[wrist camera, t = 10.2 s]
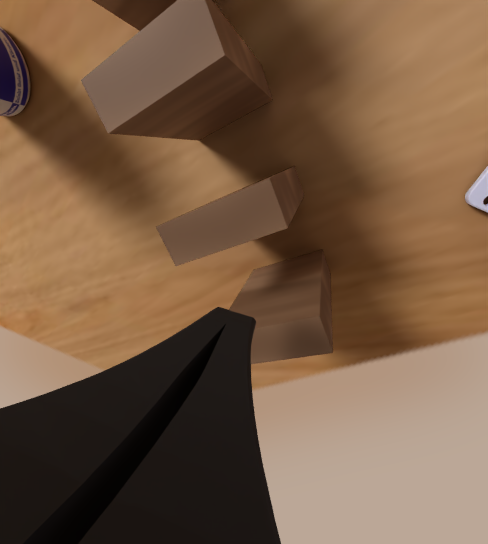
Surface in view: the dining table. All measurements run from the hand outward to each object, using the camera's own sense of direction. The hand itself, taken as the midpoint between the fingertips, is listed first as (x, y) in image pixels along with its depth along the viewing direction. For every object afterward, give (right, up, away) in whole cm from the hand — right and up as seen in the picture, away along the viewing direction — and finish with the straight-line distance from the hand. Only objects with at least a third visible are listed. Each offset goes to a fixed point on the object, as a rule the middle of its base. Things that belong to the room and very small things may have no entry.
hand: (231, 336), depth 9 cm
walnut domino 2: (+2, +7, +8) cm, 11 cm away
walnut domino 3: (+4, +2, +10) cm, 11 cm away
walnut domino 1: (-1, +12, +7) cm, 14 cm away
